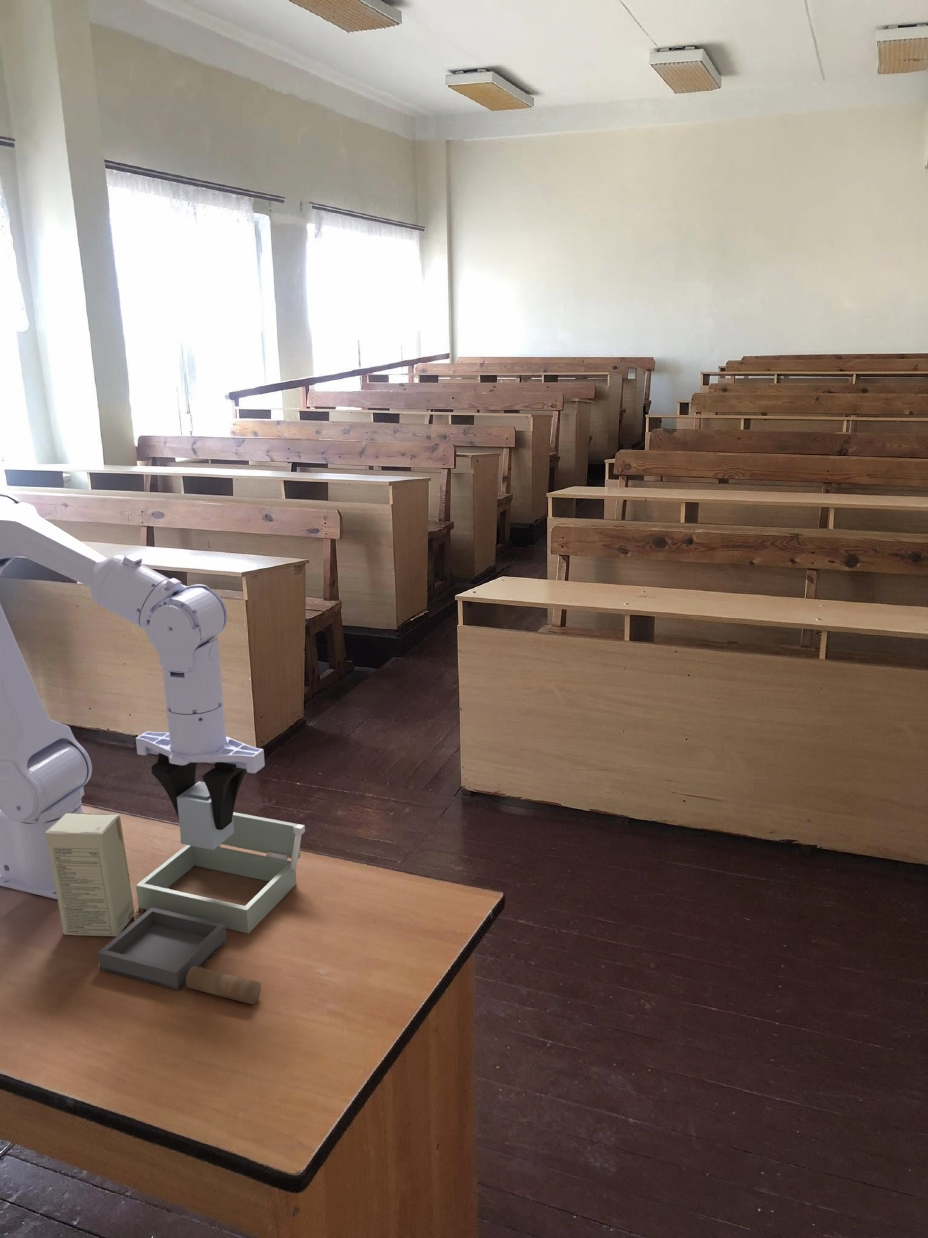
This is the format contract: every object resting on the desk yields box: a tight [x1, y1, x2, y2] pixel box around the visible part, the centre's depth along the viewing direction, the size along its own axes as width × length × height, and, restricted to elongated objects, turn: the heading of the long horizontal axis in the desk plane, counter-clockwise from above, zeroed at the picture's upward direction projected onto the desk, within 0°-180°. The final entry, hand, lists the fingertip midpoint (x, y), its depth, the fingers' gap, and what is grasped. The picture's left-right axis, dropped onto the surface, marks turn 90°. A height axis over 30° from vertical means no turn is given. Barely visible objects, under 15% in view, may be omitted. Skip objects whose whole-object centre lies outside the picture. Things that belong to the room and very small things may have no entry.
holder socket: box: [97, 907, 228, 991], centre depth 94 cm, size 9×8×2 cm
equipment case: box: [135, 811, 306, 934], centre depth 104 cm, size 15×11×7 cm
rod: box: [185, 966, 262, 1005], centre depth 89 cm, size 7×2×2 cm, turn 70°
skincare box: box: [46, 812, 136, 937], centre depth 98 cm, size 6×4×12 cm
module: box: [177, 781, 234, 850], centre depth 101 cm, size 4×4×6 cm
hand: (205, 822), depth 101 cm, fingers closed on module, 4 cm apart
